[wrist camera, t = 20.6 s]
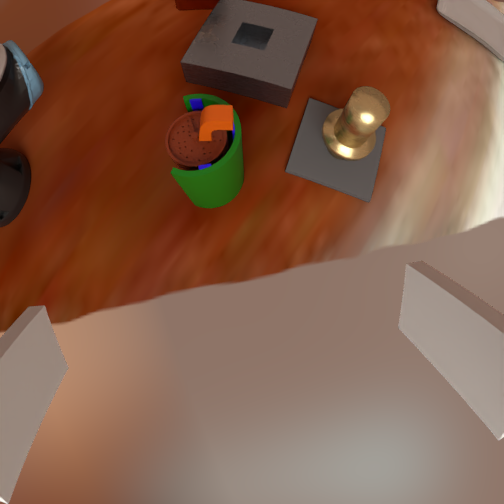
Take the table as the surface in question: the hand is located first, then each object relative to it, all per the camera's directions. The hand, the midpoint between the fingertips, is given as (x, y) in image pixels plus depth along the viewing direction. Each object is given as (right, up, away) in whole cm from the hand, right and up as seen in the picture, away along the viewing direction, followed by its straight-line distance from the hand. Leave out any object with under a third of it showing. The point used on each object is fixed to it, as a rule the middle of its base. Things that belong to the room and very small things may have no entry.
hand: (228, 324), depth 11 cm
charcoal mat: (+15, +19, +39) cm, 45 cm away
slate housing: (+1, +37, +40) cm, 55 cm away
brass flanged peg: (+15, +19, +38) cm, 45 cm away
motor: (-5, +14, +38) cm, 41 cm away
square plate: (+64, +67, +44) cm, 102 cm away
